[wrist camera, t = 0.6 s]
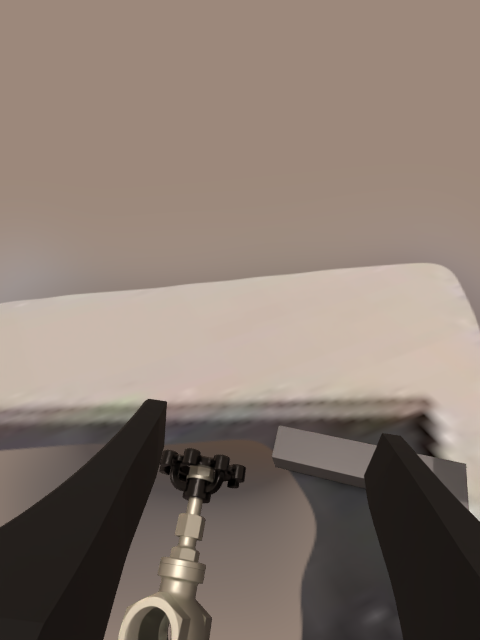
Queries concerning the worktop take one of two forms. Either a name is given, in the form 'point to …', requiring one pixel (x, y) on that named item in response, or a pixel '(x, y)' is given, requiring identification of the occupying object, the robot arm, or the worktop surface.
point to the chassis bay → (350, 460)
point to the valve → (182, 554)
